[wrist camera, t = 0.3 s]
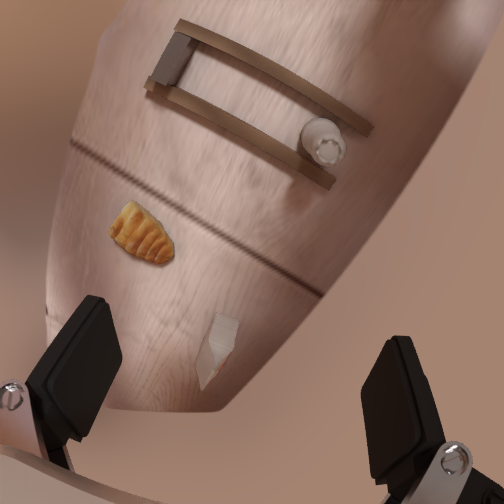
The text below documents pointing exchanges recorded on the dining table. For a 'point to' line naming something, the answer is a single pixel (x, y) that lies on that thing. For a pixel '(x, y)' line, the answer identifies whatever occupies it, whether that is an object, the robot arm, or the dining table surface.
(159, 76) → the end stop
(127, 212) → the pastry
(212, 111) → the guide track
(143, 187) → the dining table surface
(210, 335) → the white gable top carton
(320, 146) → the rook chess piece
